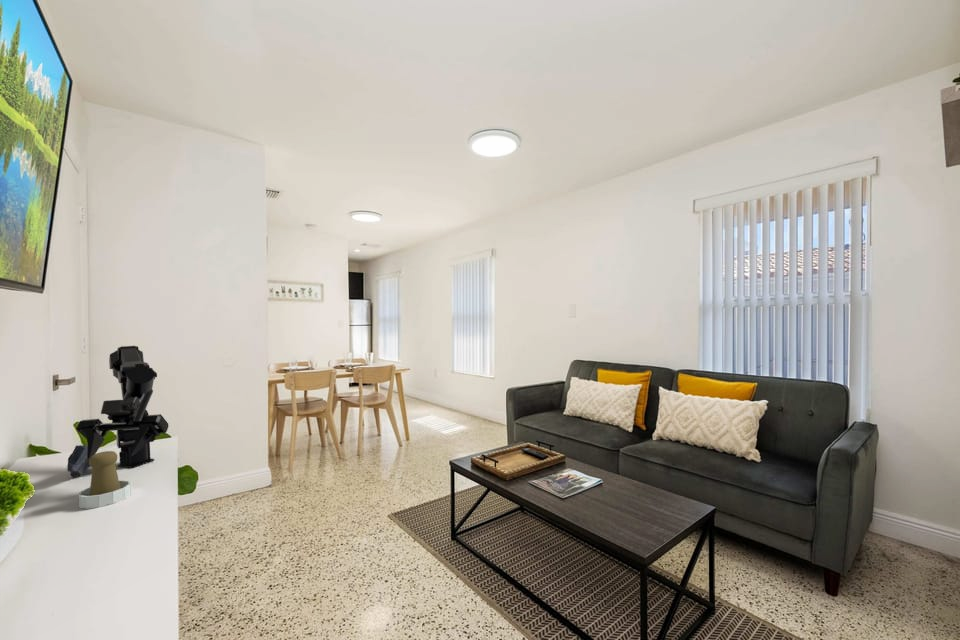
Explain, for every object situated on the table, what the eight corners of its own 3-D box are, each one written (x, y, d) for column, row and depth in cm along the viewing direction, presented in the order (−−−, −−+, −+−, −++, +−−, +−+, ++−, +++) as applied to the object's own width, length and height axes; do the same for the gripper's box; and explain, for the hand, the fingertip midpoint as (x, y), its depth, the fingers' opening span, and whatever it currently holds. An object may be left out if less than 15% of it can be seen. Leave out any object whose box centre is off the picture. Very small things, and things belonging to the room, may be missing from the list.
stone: (68, 472, 121) (67, 438, 121) (96, 466, 126) (95, 433, 125) (67, 485, 111) (66, 448, 111) (98, 478, 116) (96, 443, 116)
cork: (84, 504, 98) (81, 458, 97) (93, 495, 103) (91, 451, 103) (117, 498, 101) (115, 453, 100) (124, 489, 106) (122, 446, 106)
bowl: (114, 489, 108) (114, 478, 108) (140, 493, 105) (139, 482, 105) (69, 506, 99) (69, 494, 99) (96, 510, 96) (95, 498, 96)
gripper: (78, 389, 107) (46, 444, 97) (161, 384, 111) (139, 437, 101) (100, 412, 115) (73, 465, 104) (176, 407, 119) (158, 458, 109)
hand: (110, 456), depth 104 cm, fingers open, 9 cm apart
